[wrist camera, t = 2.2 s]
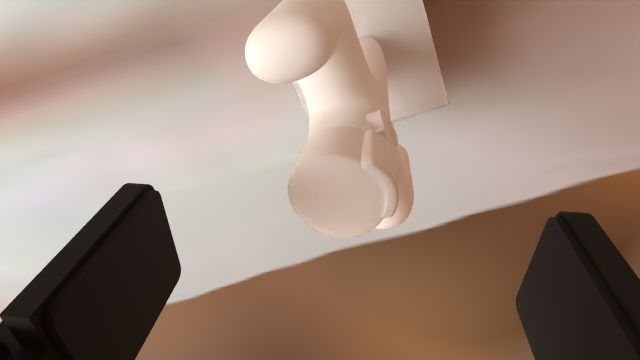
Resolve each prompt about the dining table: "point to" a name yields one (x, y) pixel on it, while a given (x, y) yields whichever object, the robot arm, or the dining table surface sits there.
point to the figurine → (351, 103)
